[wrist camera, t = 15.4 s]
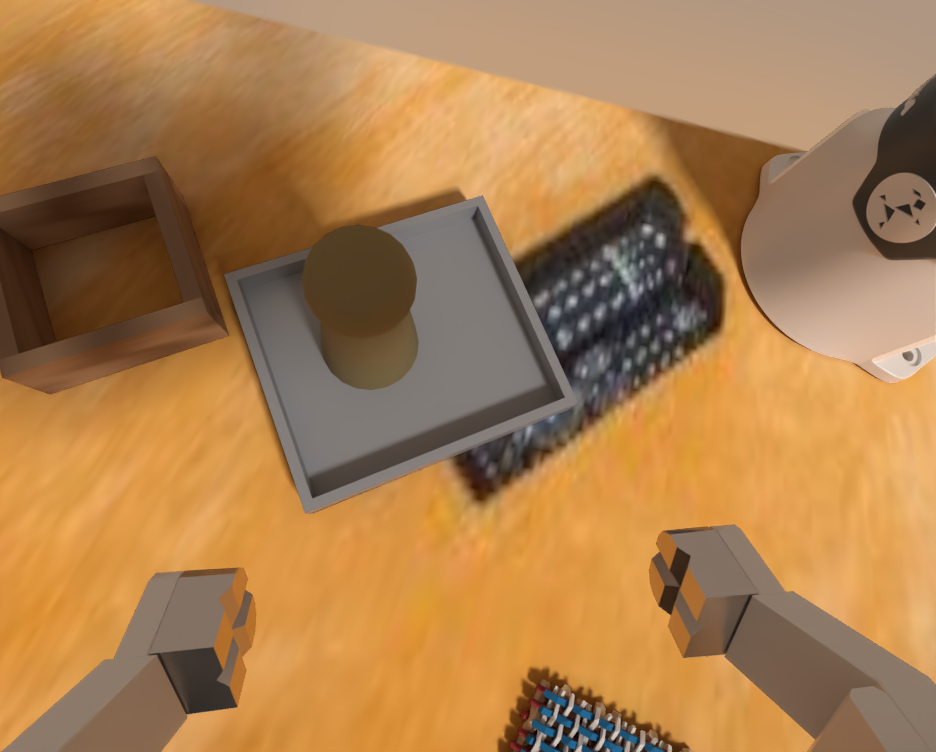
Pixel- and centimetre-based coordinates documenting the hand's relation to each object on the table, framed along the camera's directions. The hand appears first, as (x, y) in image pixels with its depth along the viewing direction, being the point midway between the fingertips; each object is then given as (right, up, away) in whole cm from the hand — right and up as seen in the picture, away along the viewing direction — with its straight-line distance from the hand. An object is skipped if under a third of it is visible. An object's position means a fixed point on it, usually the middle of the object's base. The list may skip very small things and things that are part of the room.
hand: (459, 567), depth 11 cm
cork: (-6, +6, +23) cm, 25 cm away
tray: (-4, +5, +24) cm, 25 cm away
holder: (-22, +9, +23) cm, 33 cm away
